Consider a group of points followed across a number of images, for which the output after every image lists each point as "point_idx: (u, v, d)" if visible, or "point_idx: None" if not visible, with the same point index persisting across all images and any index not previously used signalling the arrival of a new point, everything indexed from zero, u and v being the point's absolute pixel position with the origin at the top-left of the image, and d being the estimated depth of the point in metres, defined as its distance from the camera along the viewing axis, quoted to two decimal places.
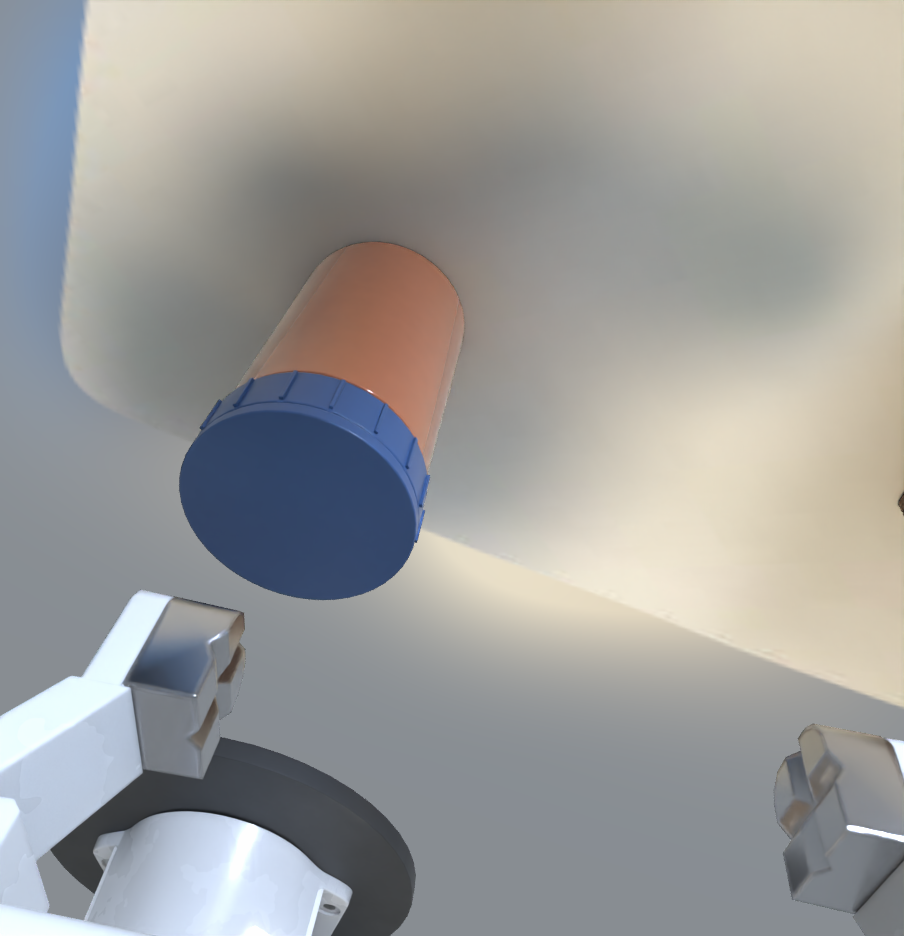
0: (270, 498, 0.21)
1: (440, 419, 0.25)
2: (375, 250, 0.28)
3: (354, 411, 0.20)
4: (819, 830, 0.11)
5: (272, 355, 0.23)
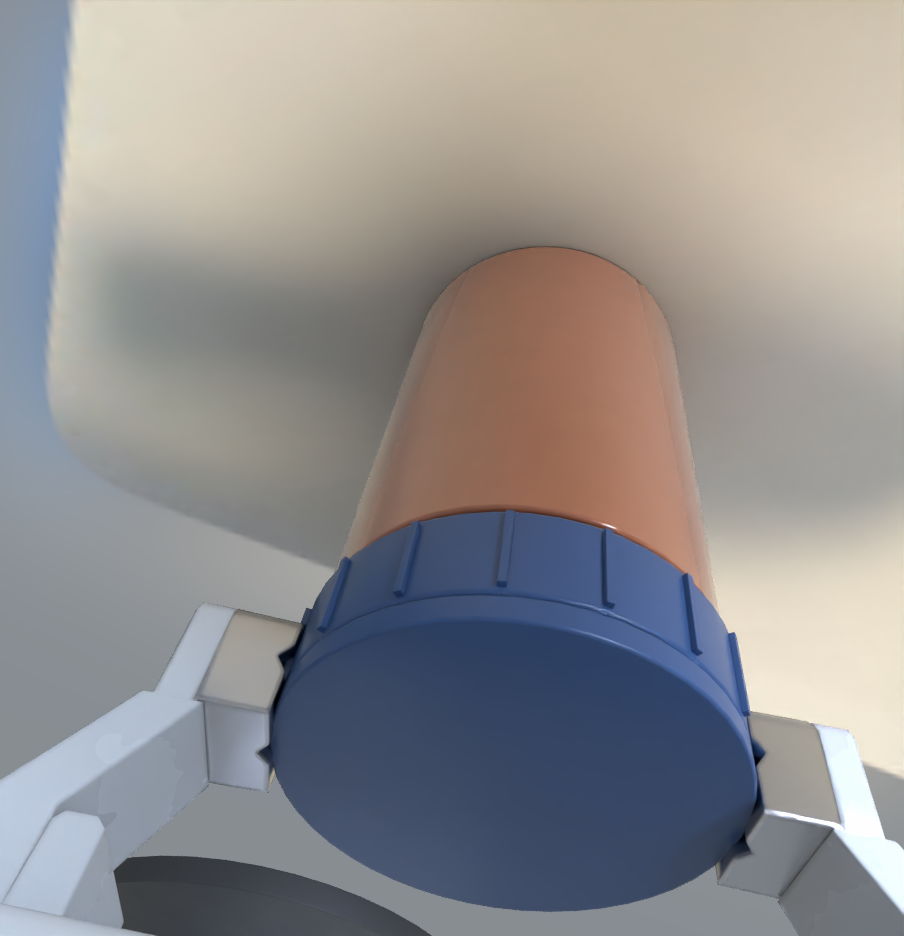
0: (454, 763, 0.11)
1: None
2: (553, 260, 0.17)
3: (649, 606, 0.10)
4: None
5: (436, 462, 0.12)
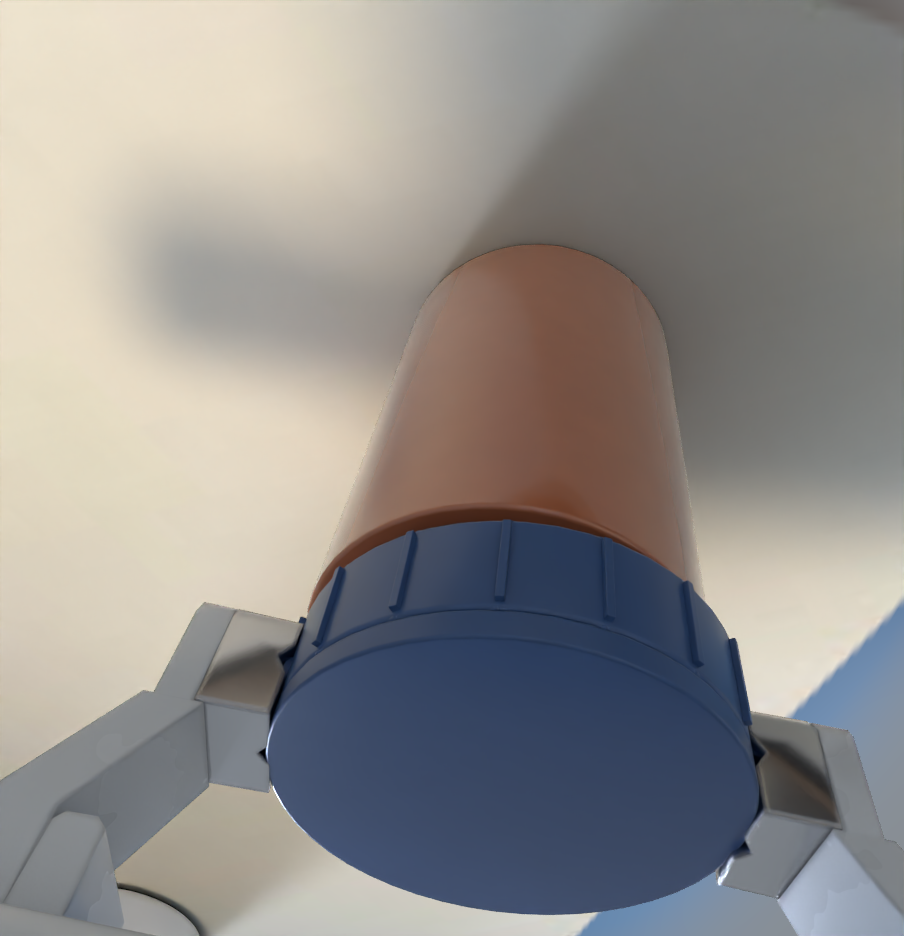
0: (453, 775, 0.11)
1: None
2: None
3: (649, 616, 0.10)
4: None
5: None
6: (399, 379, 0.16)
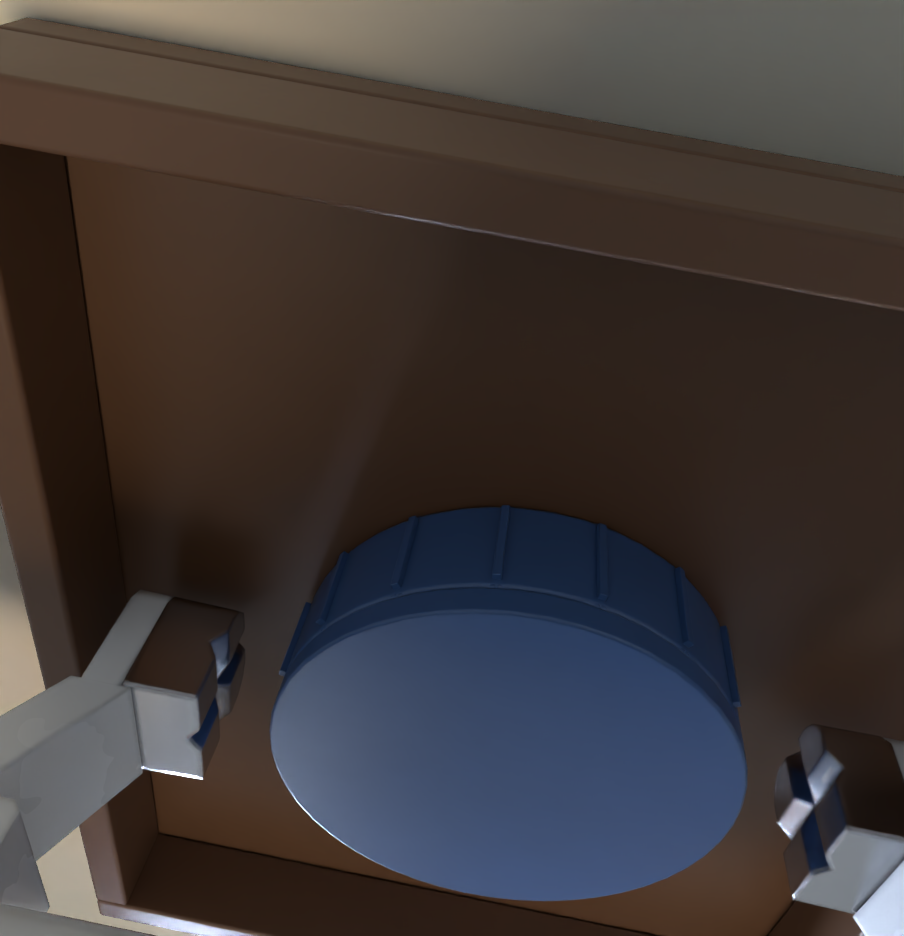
0: (451, 754, 0.11)
1: None
2: None
3: (642, 598, 0.10)
4: (819, 830, 0.11)
5: None
6: None
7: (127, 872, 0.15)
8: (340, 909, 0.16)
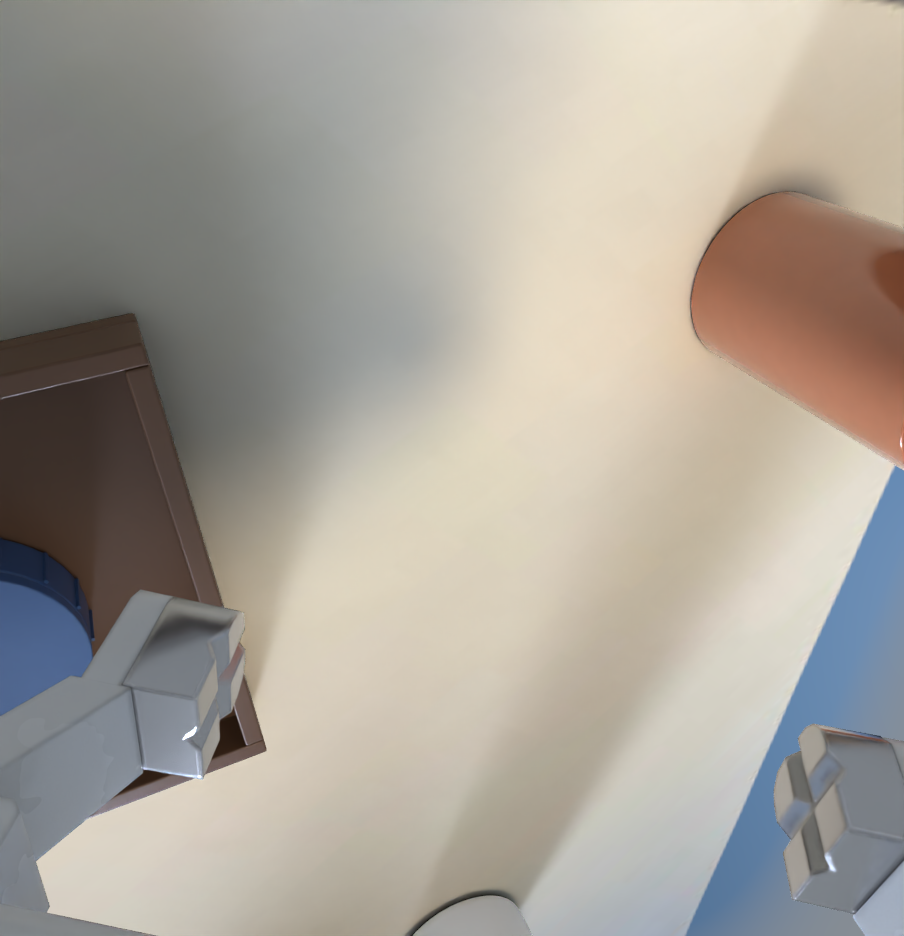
0: None
1: (818, 376, 0.24)
2: None
3: None
4: (819, 830, 0.11)
5: None
6: (788, 292, 0.25)
7: None
8: None
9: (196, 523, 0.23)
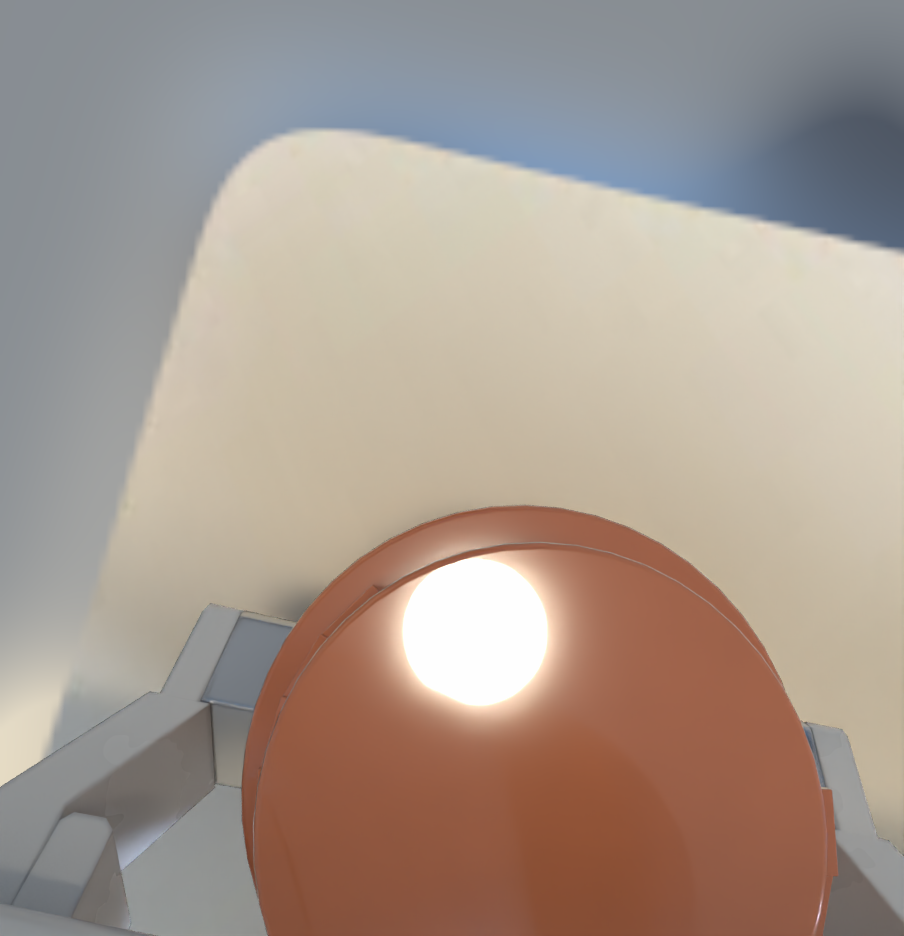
0: None
1: None
2: None
3: None
4: None
5: None
6: None
7: None
8: None
9: None
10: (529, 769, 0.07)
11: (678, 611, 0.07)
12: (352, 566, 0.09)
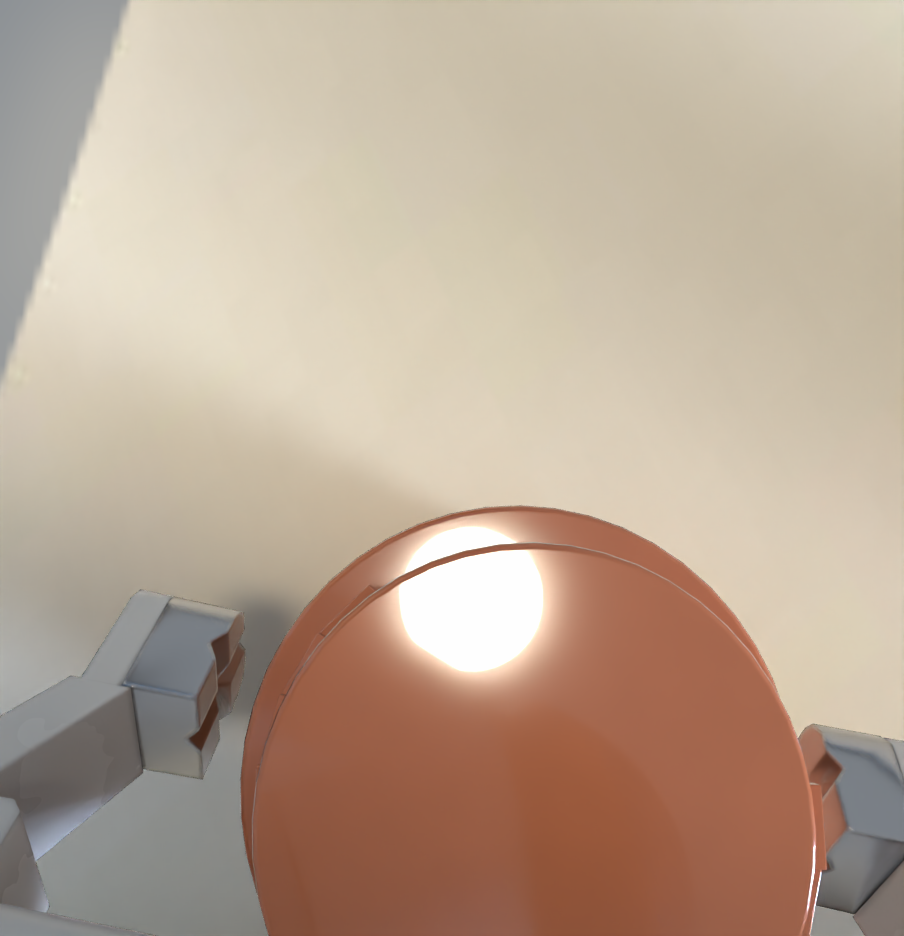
0: None
1: None
2: None
3: None
4: None
5: None
6: None
7: None
8: None
9: None
10: (523, 765, 0.07)
11: (670, 610, 0.08)
12: (349, 566, 0.09)
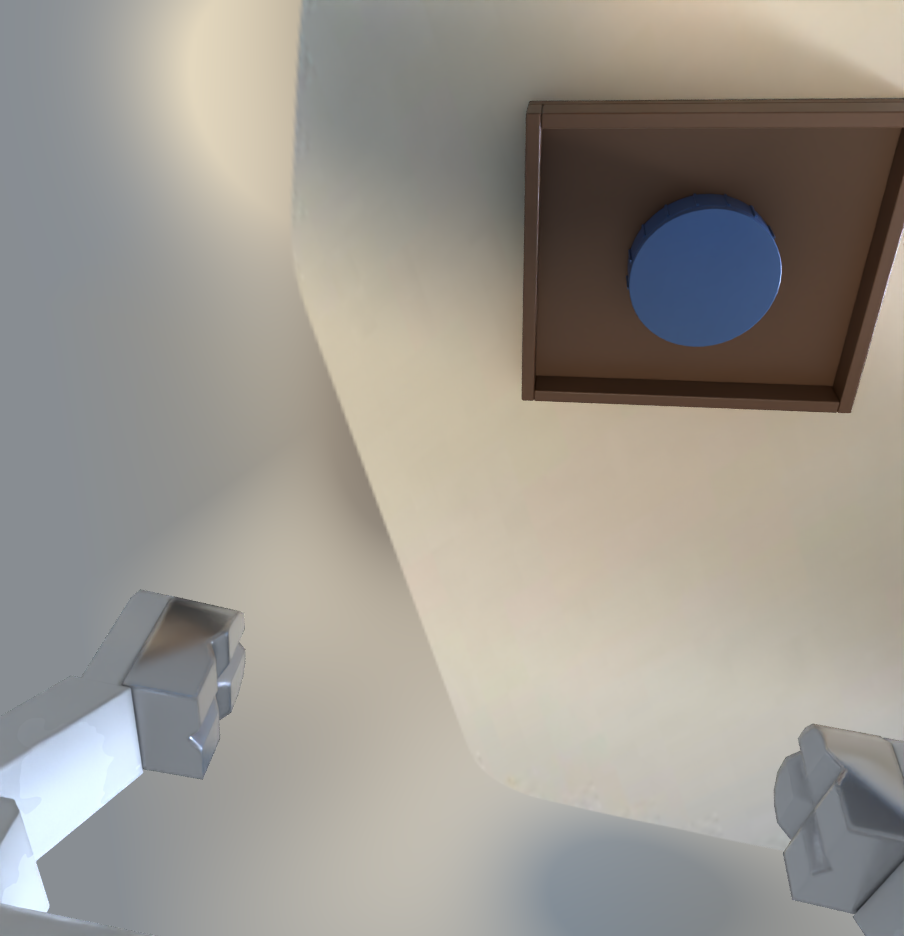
0: (693, 296, 0.36)
1: None
2: None
3: (635, 247, 0.36)
4: (819, 830, 0.11)
5: None
6: None
7: (819, 399, 0.39)
8: (857, 317, 0.37)
9: (666, 113, 0.32)
10: None
11: None
12: None
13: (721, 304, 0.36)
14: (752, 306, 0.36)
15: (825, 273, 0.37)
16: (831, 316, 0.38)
